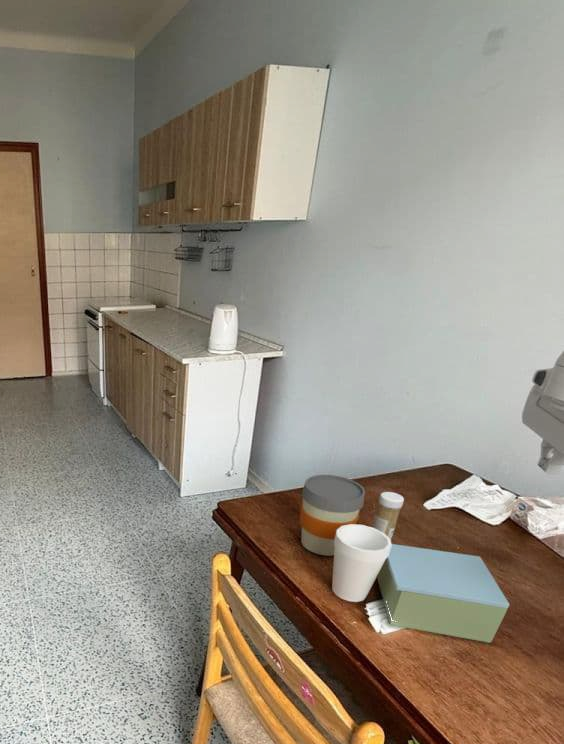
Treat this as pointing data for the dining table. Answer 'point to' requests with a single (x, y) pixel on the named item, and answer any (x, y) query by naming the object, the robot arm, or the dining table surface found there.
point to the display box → (438, 612)
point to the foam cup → (358, 560)
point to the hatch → (444, 575)
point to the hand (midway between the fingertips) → (547, 470)
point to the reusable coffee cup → (328, 510)
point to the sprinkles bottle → (387, 512)
